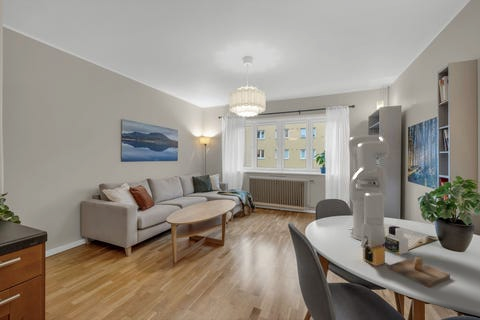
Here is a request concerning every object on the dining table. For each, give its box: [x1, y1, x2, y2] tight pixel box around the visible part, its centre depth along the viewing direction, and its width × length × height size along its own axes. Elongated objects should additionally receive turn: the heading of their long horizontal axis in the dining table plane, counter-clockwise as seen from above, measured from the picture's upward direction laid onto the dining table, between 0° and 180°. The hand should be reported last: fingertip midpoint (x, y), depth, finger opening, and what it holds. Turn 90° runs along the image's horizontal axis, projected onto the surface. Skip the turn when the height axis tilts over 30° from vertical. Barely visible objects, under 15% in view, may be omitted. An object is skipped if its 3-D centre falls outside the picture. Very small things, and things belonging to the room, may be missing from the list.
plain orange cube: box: [362, 244, 386, 267], centre depth 94 cm, size 6×6×7 cm
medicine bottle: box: [383, 225, 409, 256], centre depth 104 cm, size 7×7×12 cm
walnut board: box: [388, 256, 451, 288], centre depth 84 cm, size 14×14×6 cm
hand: (373, 258), depth 94 cm, fingers closed on plain orange cube, 6 cm apart
